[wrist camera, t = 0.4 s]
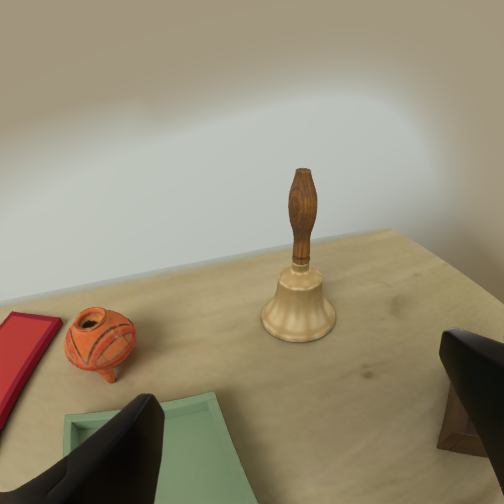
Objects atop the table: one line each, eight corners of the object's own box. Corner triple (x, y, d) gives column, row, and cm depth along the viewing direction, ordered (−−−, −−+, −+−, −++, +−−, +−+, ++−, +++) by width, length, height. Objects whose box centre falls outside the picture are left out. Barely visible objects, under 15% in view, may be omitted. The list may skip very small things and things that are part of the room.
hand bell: (267, 292, 35) (261, 161, 27) (334, 296, 33) (344, 163, 26) (254, 340, 28) (243, 181, 20) (336, 345, 26) (357, 183, 19)
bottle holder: (515, 460, 9) (535, 444, 8) (436, 448, 14) (453, 431, 13) (518, 383, 16) (532, 364, 14) (452, 367, 21) (464, 347, 19)
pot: (65, 387, 21) (39, 328, 19) (98, 348, 28) (81, 296, 27) (130, 399, 20) (104, 335, 19) (156, 353, 28) (142, 296, 26)
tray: (278, 545, 10) (279, 546, 9) (89, 562, 6) (73, 560, 5) (217, 403, 21) (214, 390, 20) (75, 425, 17) (64, 414, 16)
